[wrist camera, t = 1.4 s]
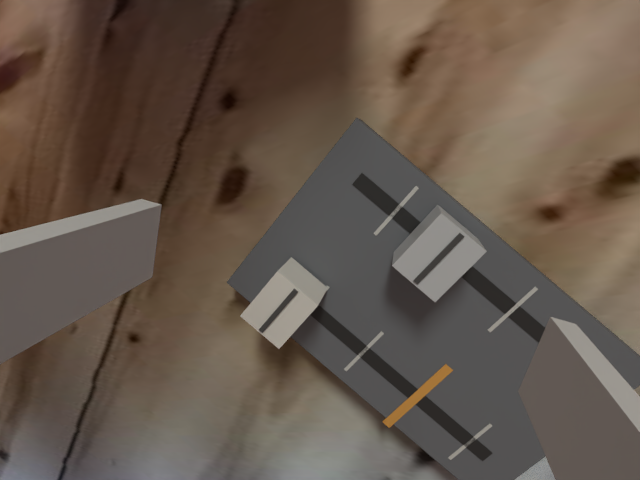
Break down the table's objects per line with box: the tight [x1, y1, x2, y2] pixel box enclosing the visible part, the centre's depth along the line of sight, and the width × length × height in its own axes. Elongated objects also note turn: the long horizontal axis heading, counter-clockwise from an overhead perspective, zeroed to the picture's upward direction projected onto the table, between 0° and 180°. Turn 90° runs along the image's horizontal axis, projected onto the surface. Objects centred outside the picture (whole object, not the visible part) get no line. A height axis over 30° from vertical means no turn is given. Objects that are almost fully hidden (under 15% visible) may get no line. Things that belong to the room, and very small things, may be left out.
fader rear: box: [241, 257, 327, 349], centre depth 35 cm, size 4×5×4 cm
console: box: [227, 118, 640, 480], centre depth 37 cm, size 30×18×3 cm, turn 51°
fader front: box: [392, 205, 487, 302], centre depth 32 cm, size 4×5×4 cm
